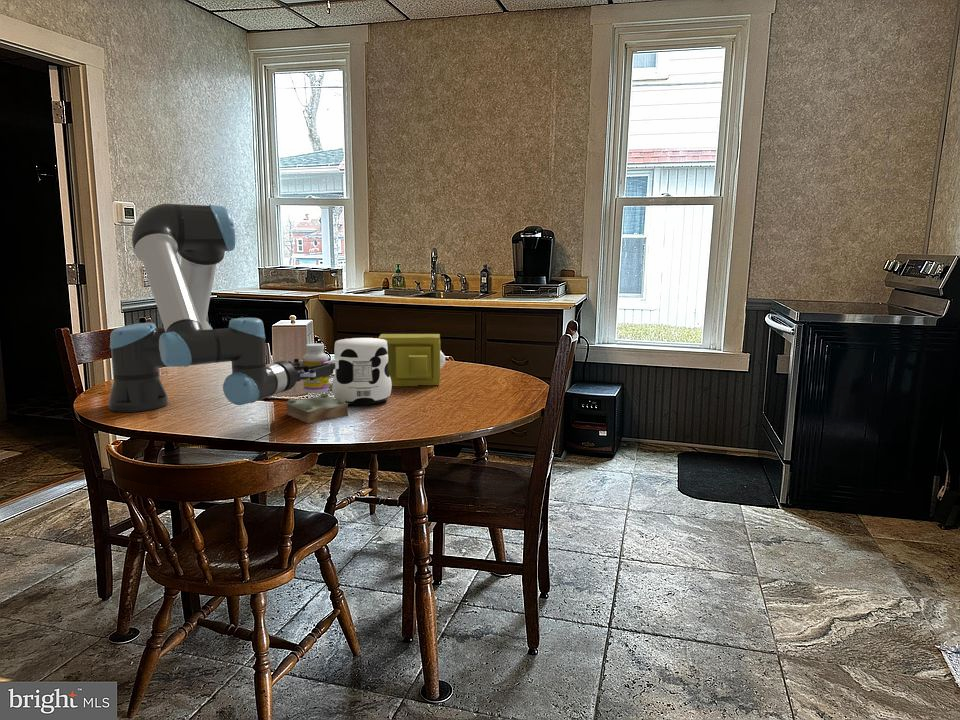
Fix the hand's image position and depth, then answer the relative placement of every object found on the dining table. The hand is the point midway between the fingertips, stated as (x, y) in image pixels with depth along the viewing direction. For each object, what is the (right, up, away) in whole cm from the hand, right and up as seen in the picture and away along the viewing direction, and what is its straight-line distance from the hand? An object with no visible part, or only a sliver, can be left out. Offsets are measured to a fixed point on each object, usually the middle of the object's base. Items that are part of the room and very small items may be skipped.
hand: (325, 362), depth 188 cm
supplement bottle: (-2, -8, -3) cm, 9 cm away
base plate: (-2, -14, -2) cm, 15 cm away
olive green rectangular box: (+14, -8, +37) cm, 40 cm away
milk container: (+8, -12, +14) cm, 20 cm away
